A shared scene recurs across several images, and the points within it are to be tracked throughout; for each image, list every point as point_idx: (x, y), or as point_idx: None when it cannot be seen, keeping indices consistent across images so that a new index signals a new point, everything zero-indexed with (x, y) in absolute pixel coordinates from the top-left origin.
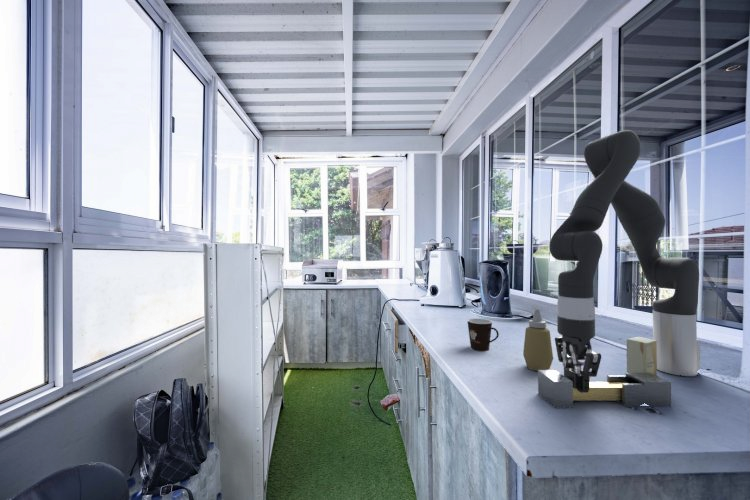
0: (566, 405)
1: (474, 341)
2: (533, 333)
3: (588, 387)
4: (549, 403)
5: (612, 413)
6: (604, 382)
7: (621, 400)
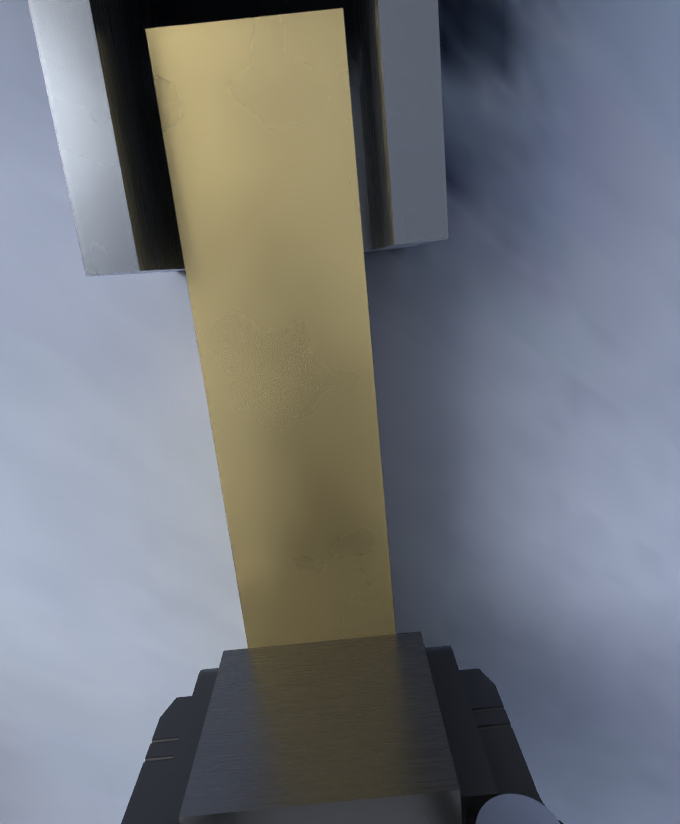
0: None
1: None
2: None
3: (499, 703)
4: None
5: (531, 440)
6: (221, 369)
7: None
